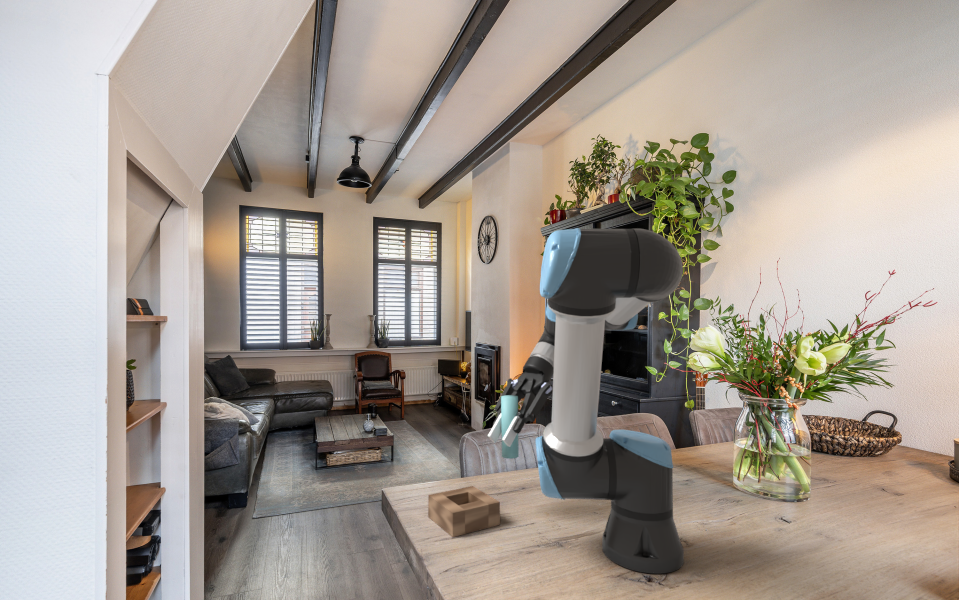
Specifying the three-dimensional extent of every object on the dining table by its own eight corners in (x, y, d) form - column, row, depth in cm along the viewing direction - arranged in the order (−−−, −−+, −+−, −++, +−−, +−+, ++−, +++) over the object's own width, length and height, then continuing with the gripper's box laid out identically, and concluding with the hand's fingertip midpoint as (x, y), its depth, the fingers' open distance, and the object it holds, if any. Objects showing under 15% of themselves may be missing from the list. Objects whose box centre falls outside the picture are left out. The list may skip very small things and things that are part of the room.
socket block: (499, 524, 103) (499, 501, 103) (452, 537, 97) (452, 513, 97) (472, 506, 113) (472, 485, 114) (428, 516, 107) (428, 495, 107)
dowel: (521, 456, 108) (521, 397, 109) (507, 459, 106) (506, 398, 107) (512, 452, 112) (511, 394, 112) (498, 455, 110) (497, 396, 110)
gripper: (575, 376, 114) (534, 458, 102) (523, 371, 127) (481, 443, 114) (562, 356, 111) (518, 438, 99) (510, 352, 123) (465, 425, 111)
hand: (498, 441), depth 107 cm, fingers closed on dowel, 4 cm apart
